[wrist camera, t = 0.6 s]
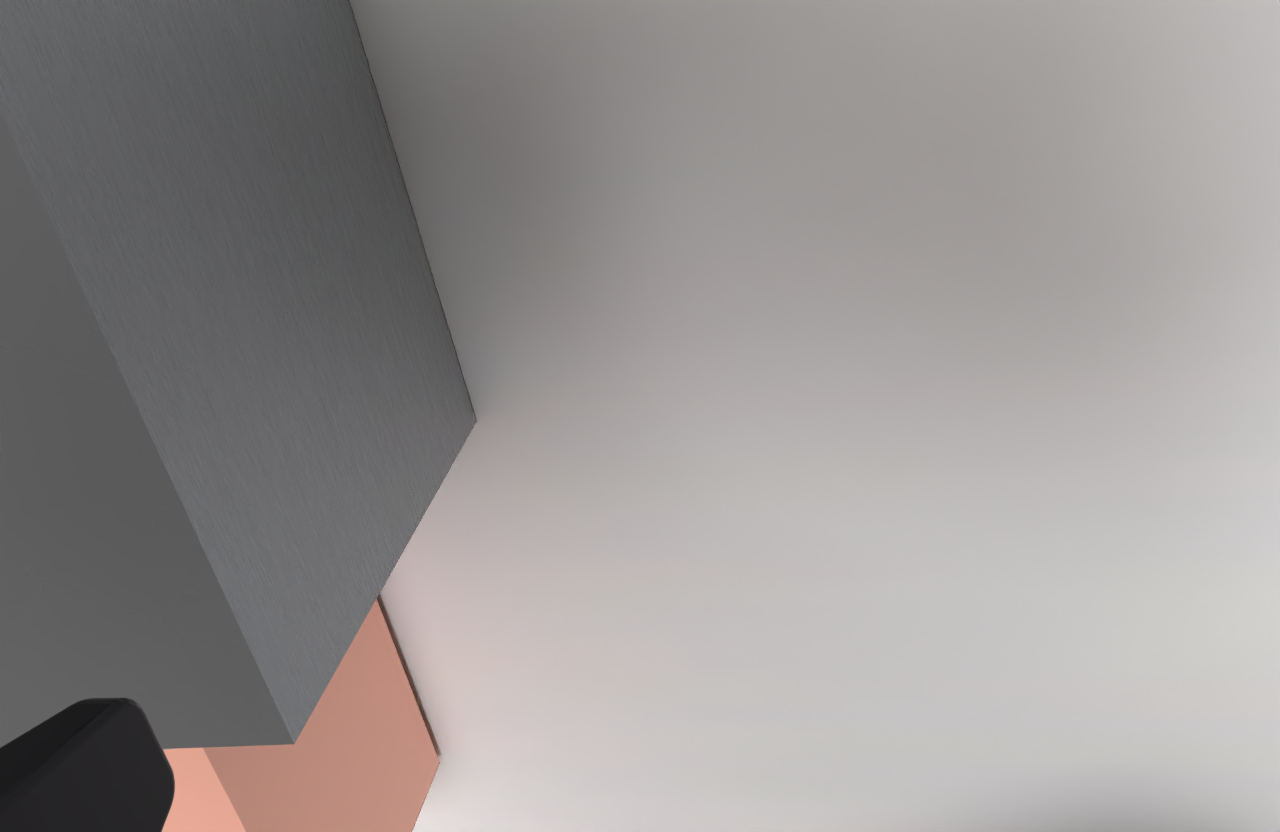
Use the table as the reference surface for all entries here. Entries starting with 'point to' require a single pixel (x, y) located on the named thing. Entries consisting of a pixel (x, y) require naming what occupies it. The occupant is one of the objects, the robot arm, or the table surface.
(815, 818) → the table surface
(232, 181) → the dark grey block
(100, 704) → the robot arm
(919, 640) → the table surface
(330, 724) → the pink ridged slab
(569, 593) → the table surface
